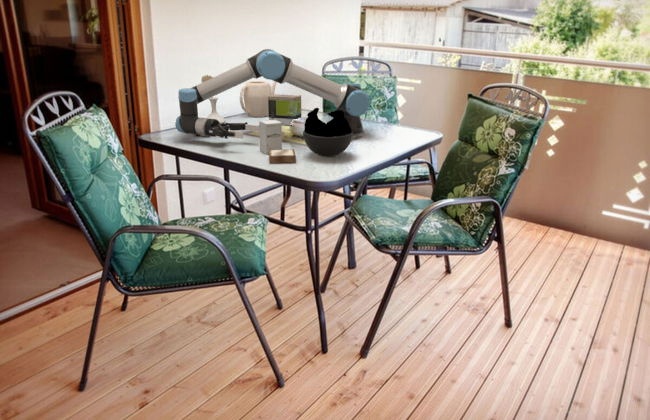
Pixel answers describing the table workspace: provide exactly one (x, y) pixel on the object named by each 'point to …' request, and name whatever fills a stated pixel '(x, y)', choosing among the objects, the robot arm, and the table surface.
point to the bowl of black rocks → (327, 133)
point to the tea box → (284, 108)
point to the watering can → (256, 97)
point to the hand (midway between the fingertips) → (250, 131)
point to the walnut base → (282, 156)
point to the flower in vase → (213, 105)
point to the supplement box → (270, 135)
